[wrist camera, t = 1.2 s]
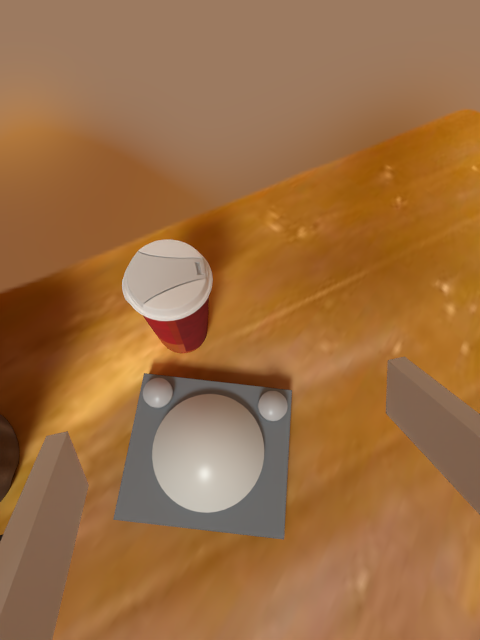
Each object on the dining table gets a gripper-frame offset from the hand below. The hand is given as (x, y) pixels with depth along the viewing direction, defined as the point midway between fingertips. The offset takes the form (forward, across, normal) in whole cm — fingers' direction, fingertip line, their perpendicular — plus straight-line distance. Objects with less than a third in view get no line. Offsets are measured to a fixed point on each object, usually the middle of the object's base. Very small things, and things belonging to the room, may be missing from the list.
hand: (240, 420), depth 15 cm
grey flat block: (+19, -2, -18) cm, 26 cm away
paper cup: (+29, -2, -8) cm, 30 cm away
